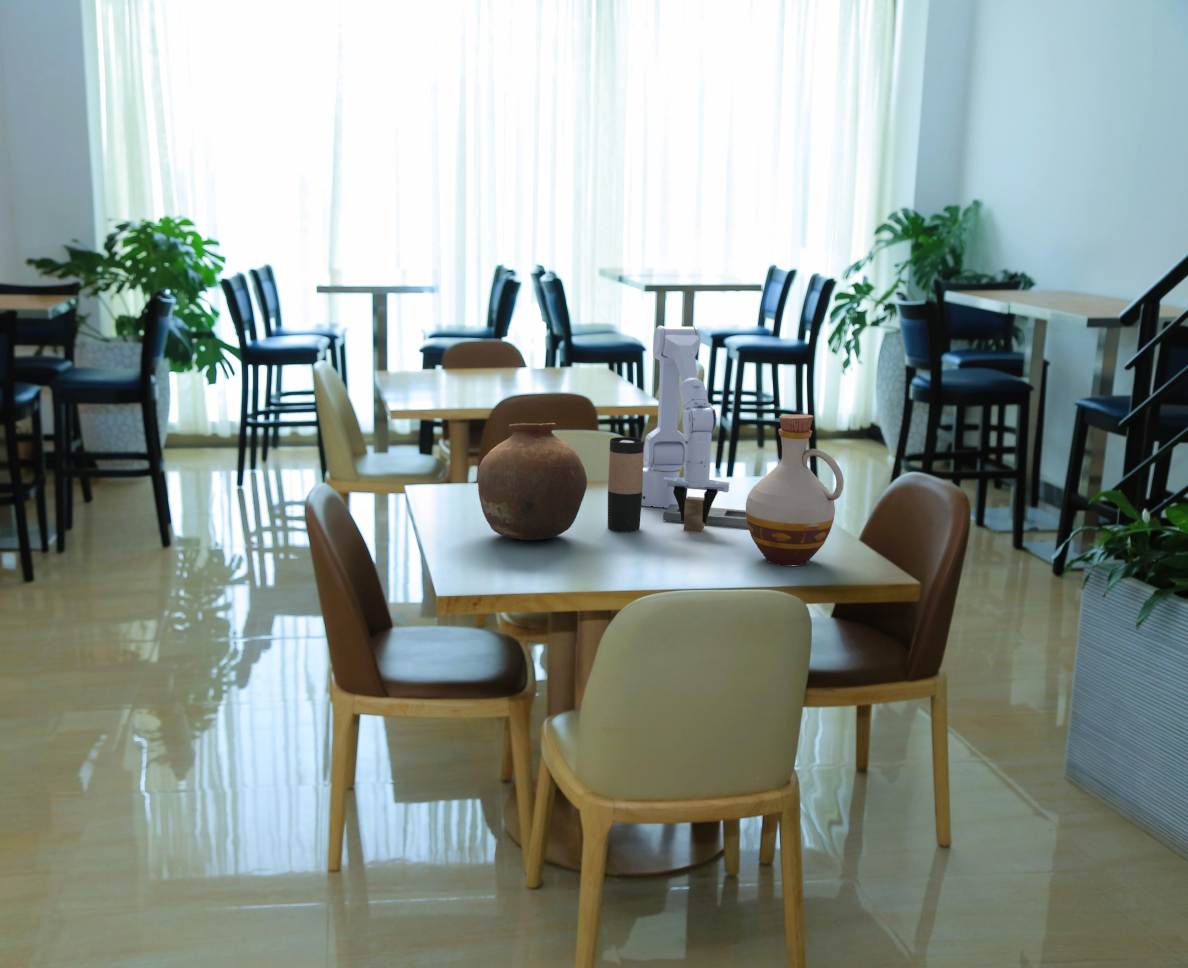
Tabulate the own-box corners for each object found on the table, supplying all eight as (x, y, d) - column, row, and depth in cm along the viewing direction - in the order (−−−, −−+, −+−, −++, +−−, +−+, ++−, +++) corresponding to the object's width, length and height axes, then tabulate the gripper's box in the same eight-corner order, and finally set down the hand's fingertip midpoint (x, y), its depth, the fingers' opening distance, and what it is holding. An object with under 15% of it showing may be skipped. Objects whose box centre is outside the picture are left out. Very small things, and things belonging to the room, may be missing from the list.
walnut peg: (683, 530, 264) (684, 500, 263) (686, 526, 268) (687, 496, 266) (701, 532, 263) (702, 501, 262) (703, 528, 267) (705, 497, 265)
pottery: (538, 557, 238) (541, 434, 233) (454, 537, 251) (455, 421, 246) (606, 537, 256) (610, 422, 251) (524, 519, 269) (526, 410, 264)
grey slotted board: (663, 520, 272) (663, 512, 272) (669, 512, 281) (670, 504, 281) (759, 529, 268) (759, 520, 267) (763, 520, 276) (763, 511, 276)
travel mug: (600, 529, 262) (603, 440, 258) (615, 522, 269) (619, 435, 265) (631, 534, 259) (635, 444, 255) (646, 527, 266) (650, 439, 262)
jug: (851, 560, 244) (862, 415, 238) (821, 579, 229) (832, 426, 223) (762, 545, 254) (771, 405, 247) (728, 563, 239) (736, 415, 232)
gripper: (661, 461, 260) (659, 522, 263) (727, 466, 257) (724, 527, 260) (667, 456, 267) (664, 515, 270) (731, 461, 264) (728, 520, 266)
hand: (694, 520), depth 265 cm, fingers open, 4 cm apart
